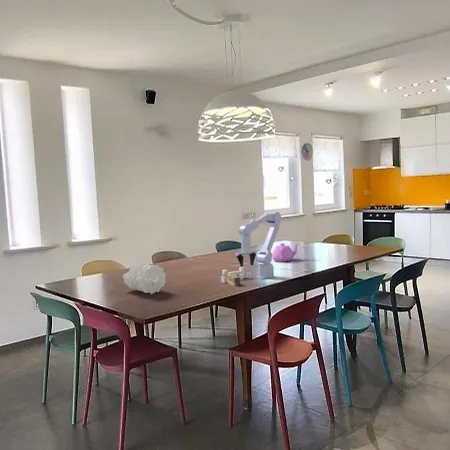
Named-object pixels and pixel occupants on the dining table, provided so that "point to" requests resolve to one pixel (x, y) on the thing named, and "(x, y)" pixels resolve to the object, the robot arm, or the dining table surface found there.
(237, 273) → the white comb rack
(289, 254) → the teapot
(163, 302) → the dining table surface
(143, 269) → the white faceted lump
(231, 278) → the rail
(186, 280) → the dining table surface
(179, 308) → the dining table surface
